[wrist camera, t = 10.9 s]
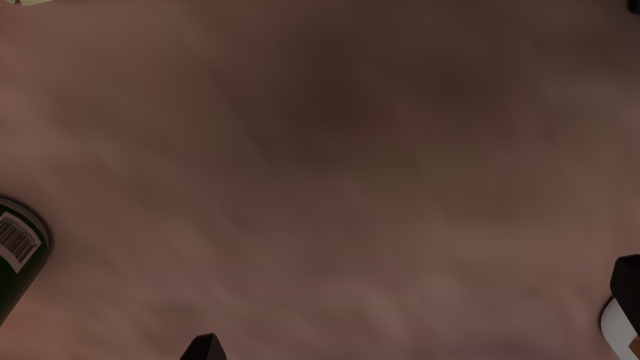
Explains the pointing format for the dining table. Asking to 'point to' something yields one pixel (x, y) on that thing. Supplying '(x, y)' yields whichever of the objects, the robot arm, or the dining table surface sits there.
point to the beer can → (19, 253)
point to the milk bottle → (620, 332)
